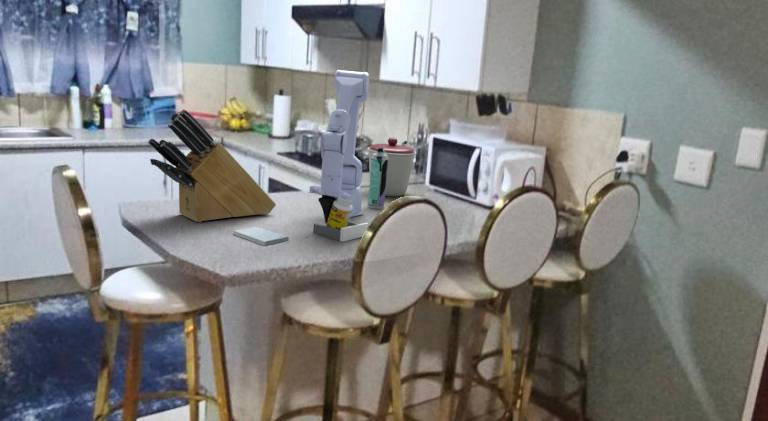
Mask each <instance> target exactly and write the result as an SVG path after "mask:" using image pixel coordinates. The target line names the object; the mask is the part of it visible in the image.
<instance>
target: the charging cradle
mask: <svg viewBox="0 0 768 421" xmlns="http://www.w3.org/2000/svg"><path fill="white" fill-rule="evenodd" d="M368 225H369V226H370V223H369V222H362V223H357V222H354V221H351V220H349V221H348V224H347V227H344V228H341V231H340V230H336V229H333V228H330V227H326V225H322V224H319V223H316V222H315V223H313V227H312V230H313V231H312V232H313V233H314V234H317V235H320V236H324V237H327V238H330V239H333V240H336V241H339V242H341V243H342V242H343V243H344V242H347V241H351V240H355V239H359V238H363V237H362V235H363V234H364V232H365V231H366V229H367V227H368Z"/></svg>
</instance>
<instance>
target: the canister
mask: <svg viewBox="0 0 768 421" xmlns="http://www.w3.org/2000/svg"><path fill="white" fill-rule="evenodd" d="M378 148H383V151H384V152H385V154H386V155H388V167H387V178H386V189H385V197H399V196H400V197H401V196H404V195H405V194H406V192H407V190H408V187H409V183H410V178H411V174H412V169H413V165H414V158H415V155H416V154H417V151H415V150H414V149H413V148H412V147H409V146H407V145H401V144H398V139H397V138H396V137H394V136H393V137H389V138H388V139H387V143H375V144H372V145H370V146H369V147H367V151H368V162H369V163H368V165H369V166H368V168H369V174H370V172H371V160H372V154H374V153H376V151H377V150H378Z"/></svg>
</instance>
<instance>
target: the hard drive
mask: <svg viewBox="0 0 768 421" xmlns="http://www.w3.org/2000/svg"><path fill="white" fill-rule="evenodd" d="M232 232H233V235H234V236H237V237H240V238H243V239H244V240H248V241H251V242H253V243H256V244H259V245H262V246H264V245H265V246H270V245H274V244H278V243H282V242H287V241H289V240H290V239H289V237H288V236H286V235H283V234H280V233H276V232H274V231H271V230H268V229H266V228H262V227H259V226H251V227H245V228H240V229H235V230H234V231H232ZM269 244H270V245H269Z"/></svg>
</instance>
